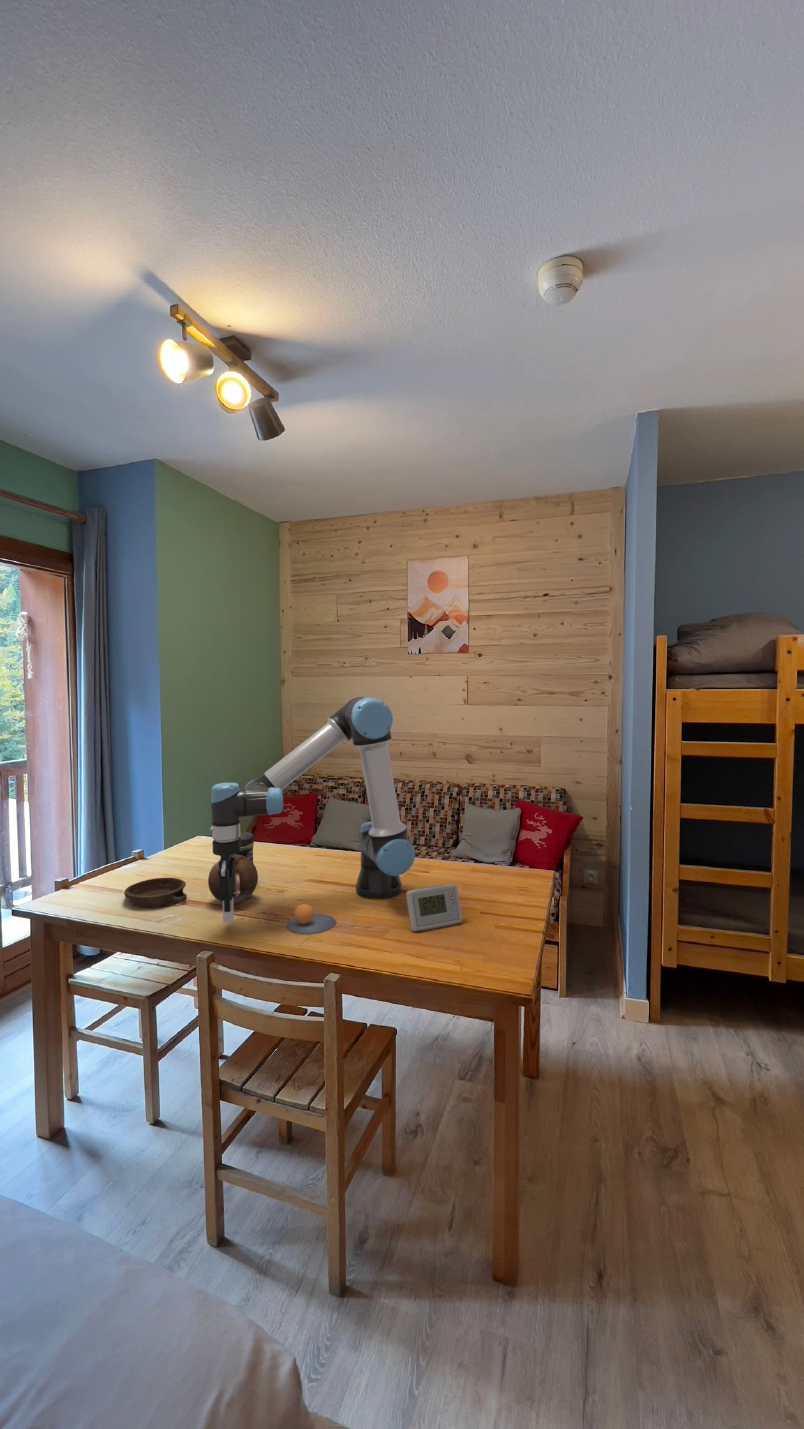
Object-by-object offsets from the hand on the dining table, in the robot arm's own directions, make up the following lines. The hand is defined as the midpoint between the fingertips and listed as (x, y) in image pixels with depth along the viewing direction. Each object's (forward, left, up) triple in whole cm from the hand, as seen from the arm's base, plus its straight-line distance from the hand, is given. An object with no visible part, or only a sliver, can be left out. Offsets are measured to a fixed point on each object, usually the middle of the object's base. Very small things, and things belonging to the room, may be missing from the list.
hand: (228, 921), depth 167 cm
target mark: (-23, 0, -2) cm, 23 cm away
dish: (+27, -25, -2) cm, 37 cm away
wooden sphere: (+2, -20, -2) cm, 20 cm away
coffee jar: (+2, -34, -2) cm, 34 cm away
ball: (-21, 0, +1) cm, 21 cm away
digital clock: (-58, +6, -2) cm, 58 cm away
